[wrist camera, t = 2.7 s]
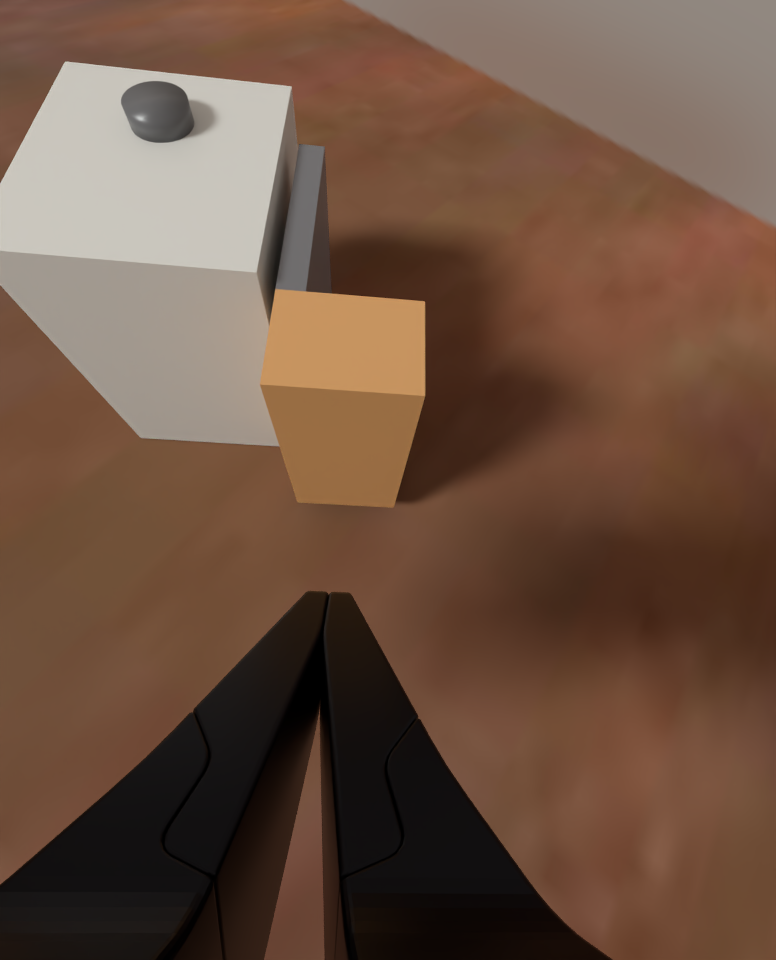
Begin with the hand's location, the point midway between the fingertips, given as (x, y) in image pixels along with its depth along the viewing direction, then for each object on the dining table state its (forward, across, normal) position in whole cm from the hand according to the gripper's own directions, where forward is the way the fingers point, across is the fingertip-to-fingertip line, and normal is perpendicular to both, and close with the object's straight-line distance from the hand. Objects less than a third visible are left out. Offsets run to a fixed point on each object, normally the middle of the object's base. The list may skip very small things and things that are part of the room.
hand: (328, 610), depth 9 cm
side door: (+13, 0, -1) cm, 13 cm away
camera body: (+16, +6, -2) cm, 17 cm away
